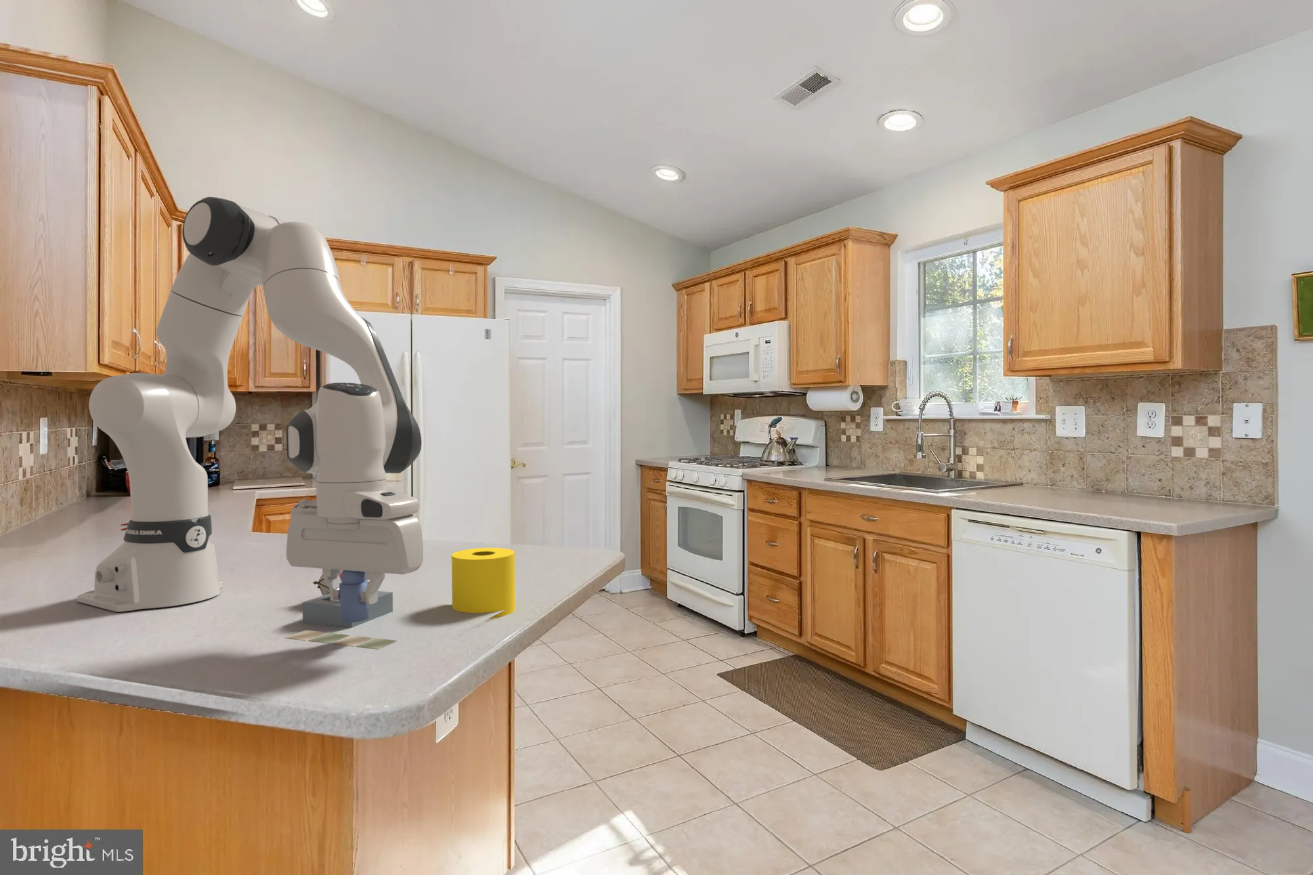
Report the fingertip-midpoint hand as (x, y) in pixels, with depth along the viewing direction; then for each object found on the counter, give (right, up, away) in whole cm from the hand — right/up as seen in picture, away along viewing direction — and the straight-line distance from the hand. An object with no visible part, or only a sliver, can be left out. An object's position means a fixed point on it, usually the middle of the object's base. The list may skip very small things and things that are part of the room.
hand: (354, 601), depth 96 cm
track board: (-2, -6, +1) cm, 7 cm away
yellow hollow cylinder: (+13, -6, +19) cm, 24 cm away
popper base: (-6, -6, +12) cm, 15 cm away
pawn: (0, -2, 0) cm, 2 cm away
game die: (-11, -6, +21) cm, 25 cm away
